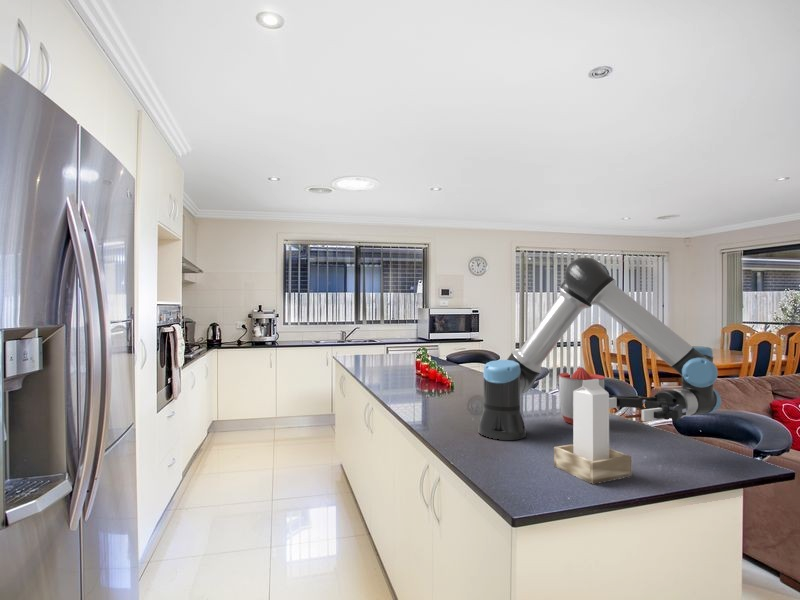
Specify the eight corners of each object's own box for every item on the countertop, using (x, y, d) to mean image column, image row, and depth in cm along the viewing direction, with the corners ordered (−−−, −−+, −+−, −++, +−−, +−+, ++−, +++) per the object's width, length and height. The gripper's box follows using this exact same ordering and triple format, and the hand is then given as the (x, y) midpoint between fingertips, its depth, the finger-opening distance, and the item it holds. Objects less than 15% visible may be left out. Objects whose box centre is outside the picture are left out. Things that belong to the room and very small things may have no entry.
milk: (609, 469, 108) (609, 380, 108) (593, 473, 105) (593, 382, 106) (588, 461, 114) (589, 377, 114) (572, 465, 111) (573, 378, 111)
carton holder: (554, 466, 113) (554, 447, 113) (590, 460, 117) (590, 441, 118) (592, 484, 101) (592, 462, 101) (631, 476, 106) (631, 456, 106)
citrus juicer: (594, 416, 166) (594, 364, 166) (612, 429, 148) (612, 370, 149) (552, 415, 167) (552, 363, 168) (565, 427, 150) (564, 369, 150)
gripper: (722, 428, 110) (664, 437, 102) (635, 407, 133) (582, 413, 125) (721, 398, 110) (664, 405, 102) (634, 382, 133) (582, 387, 125)
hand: (619, 409), depth 113 cm, fingers open, 13 cm apart
